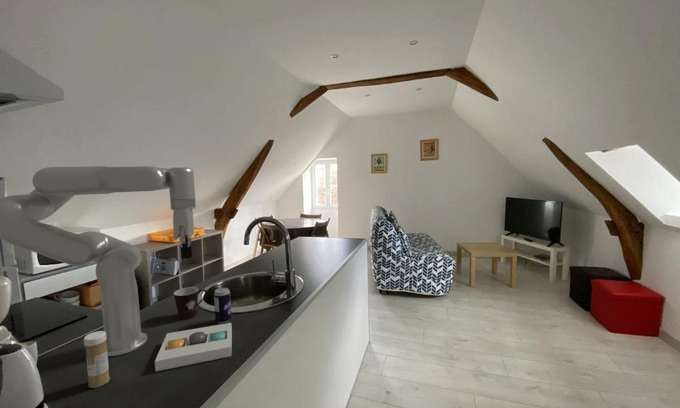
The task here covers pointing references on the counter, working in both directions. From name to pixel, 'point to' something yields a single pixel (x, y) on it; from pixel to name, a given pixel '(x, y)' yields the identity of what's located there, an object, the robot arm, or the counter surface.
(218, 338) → the teal button
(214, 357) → the panel
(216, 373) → the counter surface
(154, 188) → the robot arm
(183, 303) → the coffee mug
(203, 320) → the counter surface
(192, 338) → the charcoal button
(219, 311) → the beverage can
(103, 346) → the sprinkles bottle
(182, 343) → the orange button
